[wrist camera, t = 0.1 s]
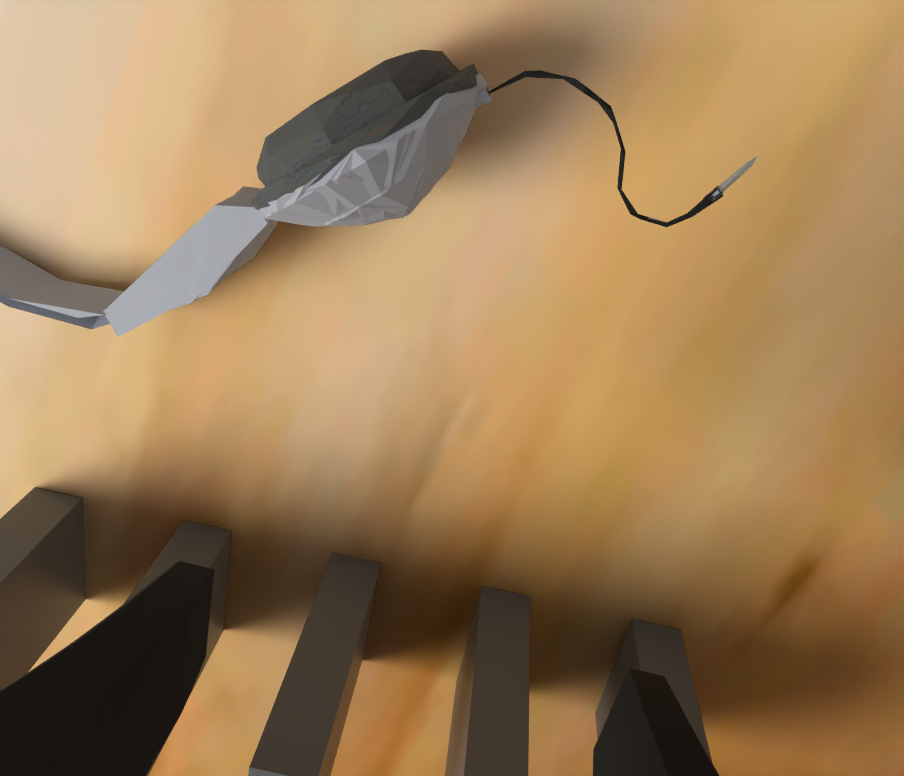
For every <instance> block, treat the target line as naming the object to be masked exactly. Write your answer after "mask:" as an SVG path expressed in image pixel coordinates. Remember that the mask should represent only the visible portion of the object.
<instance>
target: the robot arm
mask: <svg viewBox="0 0 904 776" xmlns="http://www.w3.org/2000/svg"><path fill="white" fill-rule="evenodd" d="M213 578H214V569H212V568H207V567H203V566H199V565H195V564H191V563H186V562H182V561H178V562H176V563H174V564H173V565H171V566H170V567H169V568H168V569H167V570H165V571H164V572H163V573H162V574H160V575H159V576H158V577H157V578H156V579H154V580H153V581H152V582H151V583H150V584H148V585H147V586H146V587H145V588H143V589H142V590H141V591H140V592H138V593H137V594H136V595H135V596H133V597H132V598H131V599H130V600H128V601H127V602H126V603H125V604H123V605H122V606H121V607H119V608H118V609H117V610H116V611H114V612H113V613H112V614H110V615H109V616H108V617H106V618H105V619H104V620H102V621H101V622H100V623H98V624H97V625H96V626H94V627H93V628H92V629H90V630H89V631H88V632H86V633H85V634H83V635H82V636H81V637H79V638H78V639H77V640H75V641H74V642H73V643H71V644H70V645H68V646H67V647H65V648H64V649H63V650H61V651H60V652H58V653H57V654H55V655H54V656H52V657H51V658H49V659H48V660H46V661H45V662H43V663H42V664H40V665H39V666H37V667H36V668H34V669H33V670H31V671H30V672H28V673H27V674H25V675H24V676H22V677H21V678H19V679H18V680H16V681H15V682H13V683H11V684H10V685H8V686H7V687H5V688H3V689H2V690H0V776H146V775H147V773H148V771H149V769H150V768H151V766H152V764H153V762H154V761H155V759H156V757H157V756H158V754H159V752H160V750H161V749H162V747H163V745H164V743H165V742H166V740H167V738H168V736H169V734H170V733H171V731H172V729H173V727H174V726H175V724H176V722H177V720H178V719H179V717H180V715H181V713H182V711H183V709H184V706H185V704H186V702H187V700H188V697H189V695H190V693H191V691H192V688H193V686H194V684H195V681H196V679H197V677H198V674H199V672H200V670H201V667H202V665H203V663H204V660H205V658H206V651H207V640H208V630H209V619H210V609H211V598H212V588H213ZM593 776H719V774H718V773H717V771H716V769H715V767H714V766H713V764H712V762H711V760H710V759H709V757H708V755H707V753H706V752H705V750H704V748H703V746H702V744H701V742H700V741H699V739H698V737H697V735H696V733H695V732H694V730H693V728H692V726H691V724H690V722H689V721H688V719H687V717H686V715H685V713H684V711H683V709H682V708H681V706H680V704H679V702H678V700H677V698H676V696H675V695H674V693H673V691H672V689H671V687H670V685H669V684H668V682H667V680H666V678H665V677H664V676H661V675H657V674H653V673H649V672H645V671H640V670H636V669H632V668H629V669H628V671H627V674H626V676H625V678H624V681H623V683H622V685H621V687H620V690H619V692H618V694H617V697H616V699H615V701H614V703H613V706H612V708H611V710H610V713H609V715H608V717H607V720H606V722H605V724H604V726H603V729H602V731H601V733H600V736H599V738H598V740H597V742H596V745H595V747H594V754H593Z"/></svg>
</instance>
